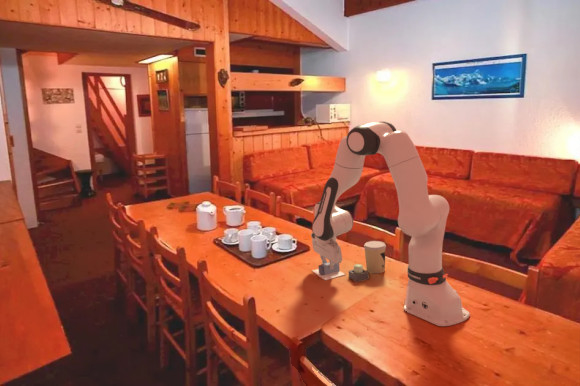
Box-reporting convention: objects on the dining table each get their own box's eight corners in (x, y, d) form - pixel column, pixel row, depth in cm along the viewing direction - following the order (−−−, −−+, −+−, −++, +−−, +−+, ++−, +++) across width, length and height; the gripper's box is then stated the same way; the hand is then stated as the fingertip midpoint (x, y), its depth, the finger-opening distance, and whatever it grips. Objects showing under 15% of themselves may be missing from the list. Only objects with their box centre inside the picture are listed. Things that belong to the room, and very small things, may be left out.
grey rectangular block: (336, 268, 181) (335, 260, 180) (339, 270, 179) (339, 262, 178) (318, 273, 178) (318, 265, 177) (321, 275, 175) (321, 267, 174)
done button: (364, 275, 169) (364, 266, 168) (357, 277, 168) (356, 268, 167) (359, 272, 173) (359, 263, 172) (352, 274, 171) (351, 265, 170)
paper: (345, 274, 175) (345, 274, 175) (325, 280, 171) (325, 279, 171) (331, 266, 185) (331, 265, 185) (312, 271, 182) (312, 270, 181)
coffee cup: (386, 274, 172) (386, 247, 170) (364, 274, 174) (363, 247, 172) (386, 265, 181) (385, 240, 178) (365, 265, 183) (364, 240, 180)
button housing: (368, 278, 169) (368, 272, 168) (356, 282, 167) (356, 275, 166) (360, 274, 174) (360, 267, 174) (348, 277, 172) (348, 270, 171)
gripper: (345, 241, 166) (346, 272, 169) (321, 229, 185) (323, 258, 188) (331, 244, 164) (333, 276, 167) (309, 232, 182) (311, 261, 185)
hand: (327, 266), depth 177 cm, fingers open, 5 cm apart
